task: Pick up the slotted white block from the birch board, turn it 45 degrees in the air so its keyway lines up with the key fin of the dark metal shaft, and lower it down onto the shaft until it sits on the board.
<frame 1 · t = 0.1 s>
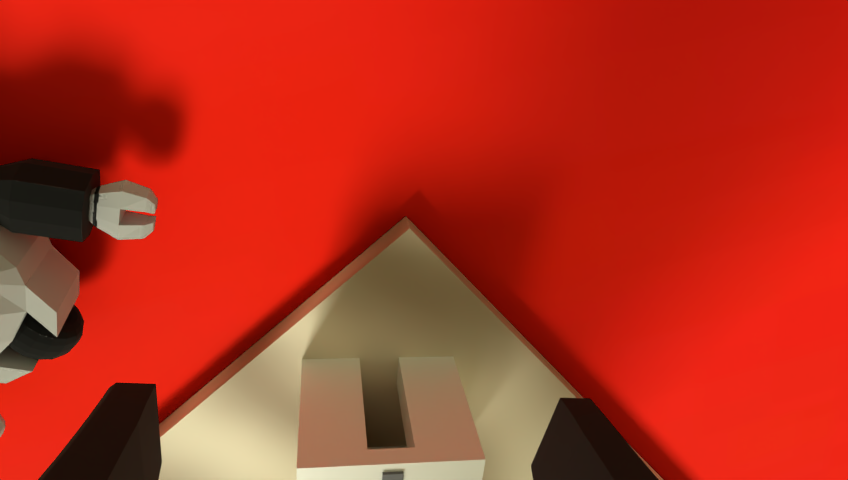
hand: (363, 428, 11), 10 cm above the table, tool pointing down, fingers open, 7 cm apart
slotted white block: (375, 416, 23), point 1 cm above the table, touching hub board
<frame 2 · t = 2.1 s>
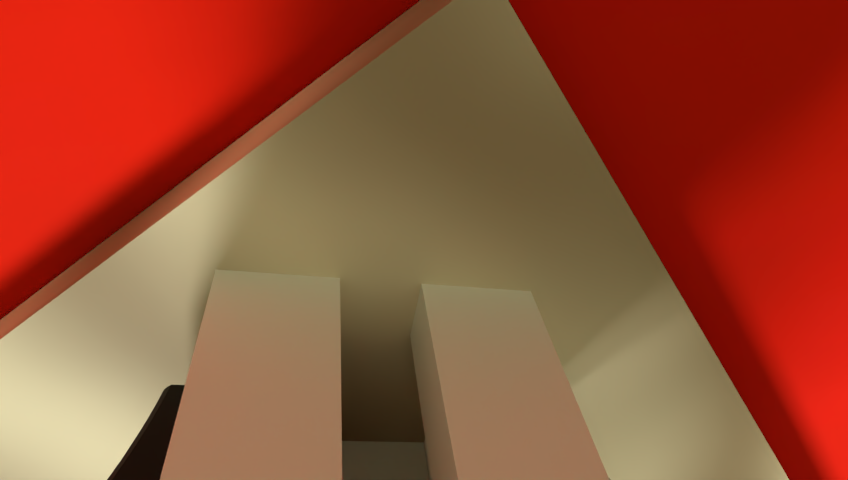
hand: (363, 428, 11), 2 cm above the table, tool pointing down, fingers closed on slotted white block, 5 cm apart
slotted white block: (361, 390, 12), point 1 cm above the table, touching gripper, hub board
when the fingers open (3 cm above the table, at t = 7.2 s): slotted white block stays where it is, resting on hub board.
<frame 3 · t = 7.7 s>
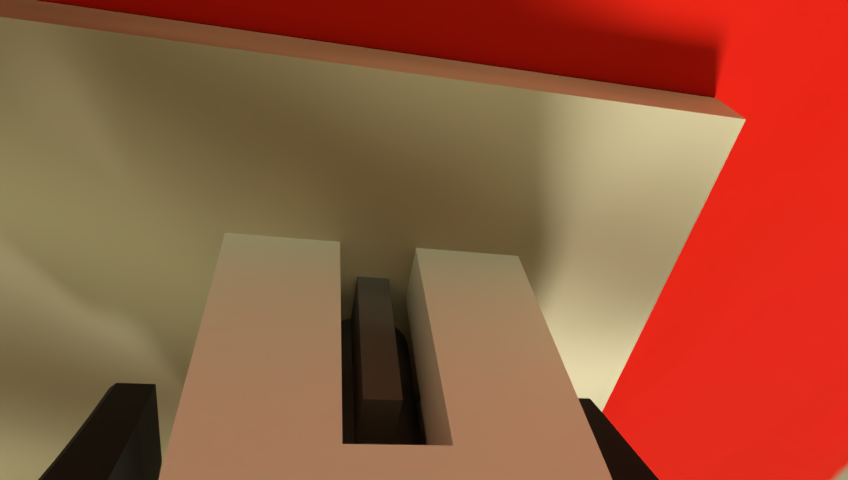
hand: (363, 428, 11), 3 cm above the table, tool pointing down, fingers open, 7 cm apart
slotted white block: (360, 352, 13), point 1 cm above the table, touching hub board
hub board: (123, 377, 14), on the table
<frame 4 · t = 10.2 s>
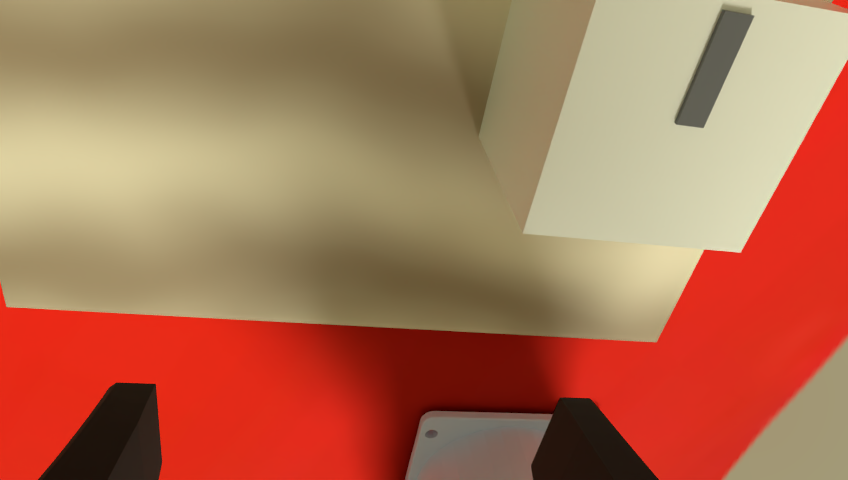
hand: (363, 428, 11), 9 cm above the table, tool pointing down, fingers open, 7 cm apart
slotted white block: (597, 56, 17), point 1 cm above the table, touching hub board
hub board: (399, 91, 17), on the table
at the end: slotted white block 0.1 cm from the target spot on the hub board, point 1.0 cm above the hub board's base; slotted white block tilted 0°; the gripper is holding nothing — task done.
